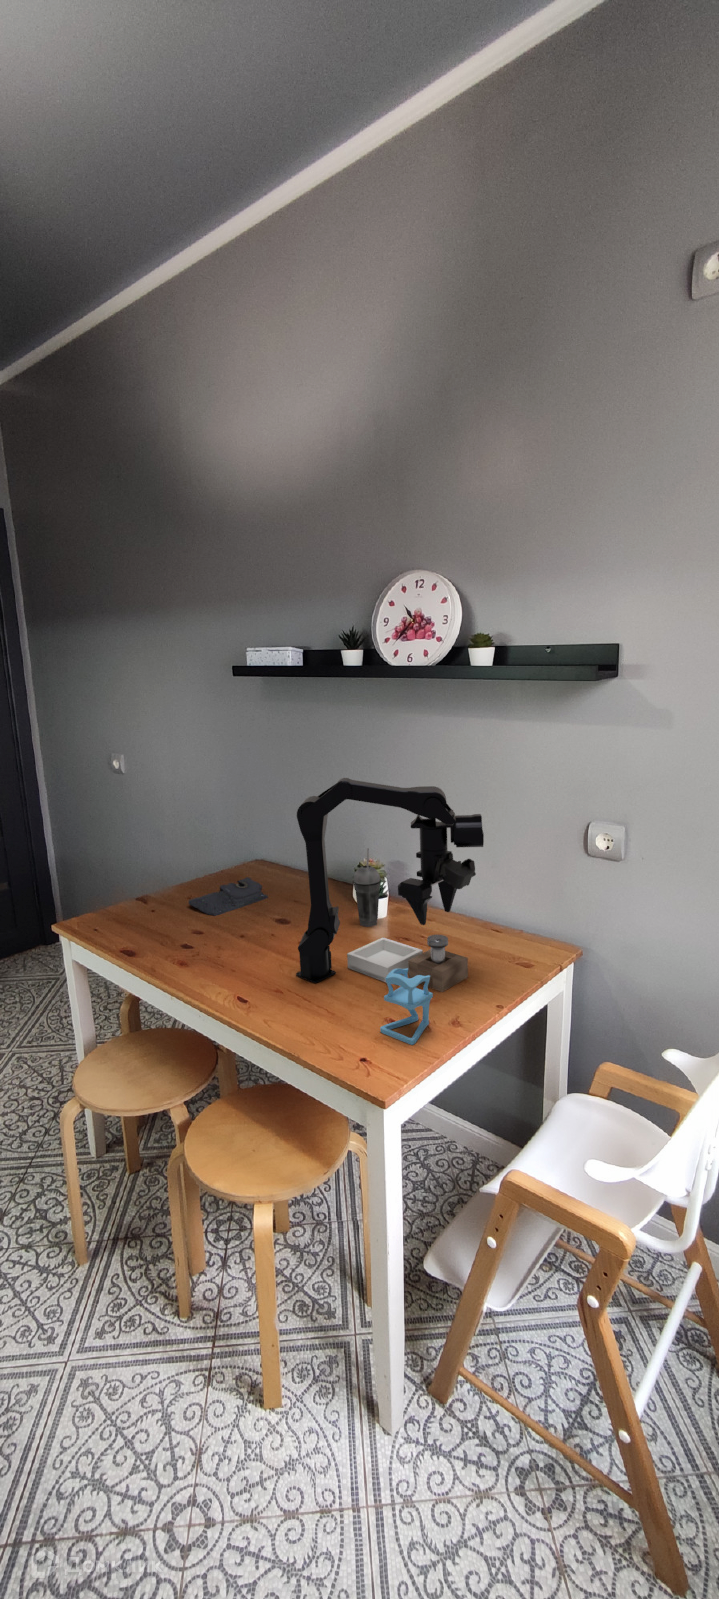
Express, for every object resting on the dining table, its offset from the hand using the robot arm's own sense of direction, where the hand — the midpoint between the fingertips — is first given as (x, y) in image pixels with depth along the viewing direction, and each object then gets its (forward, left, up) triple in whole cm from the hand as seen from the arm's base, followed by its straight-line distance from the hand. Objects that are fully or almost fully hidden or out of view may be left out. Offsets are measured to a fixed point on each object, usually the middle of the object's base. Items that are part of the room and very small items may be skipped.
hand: (435, 918), depth 156 cm
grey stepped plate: (+1, +77, -14) cm, 79 cm away
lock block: (-1, -1, -13) cm, 13 cm away
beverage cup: (+14, +33, -13) cm, 38 cm away
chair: (-21, -10, -14) cm, 27 cm away
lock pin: (-1, -1, -13) cm, 13 cm away
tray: (-3, +12, -13) cm, 18 cm away
